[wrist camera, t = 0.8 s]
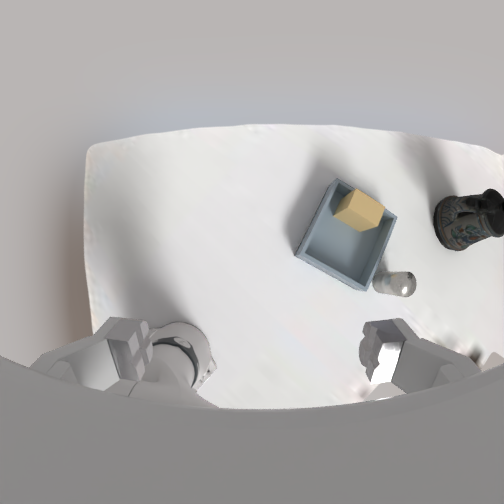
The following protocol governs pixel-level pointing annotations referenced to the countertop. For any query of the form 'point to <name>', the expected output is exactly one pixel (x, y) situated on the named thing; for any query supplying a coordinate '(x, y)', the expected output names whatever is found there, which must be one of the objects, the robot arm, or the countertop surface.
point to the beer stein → (469, 219)
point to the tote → (344, 242)
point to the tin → (395, 283)
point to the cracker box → (359, 211)
